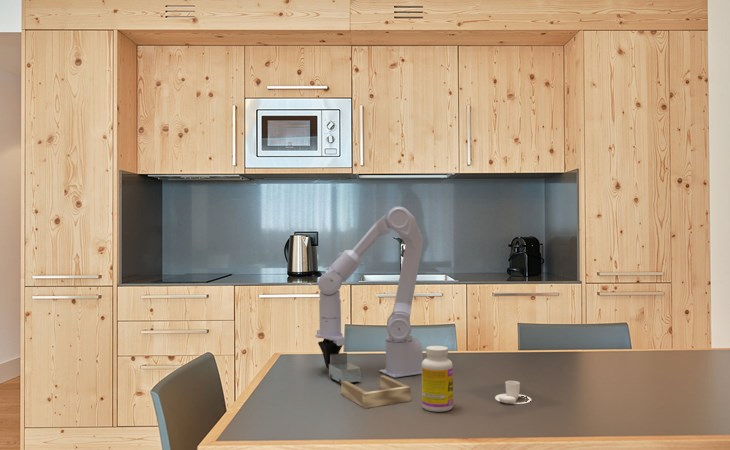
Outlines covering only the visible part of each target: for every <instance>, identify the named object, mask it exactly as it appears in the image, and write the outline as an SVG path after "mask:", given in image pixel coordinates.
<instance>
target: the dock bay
mask: <svg viewBox="0 0 730 450" xmlns="http://www.w3.org/2000/svg"><path fill="white" fill-rule="evenodd" d="M340 385H341V386H340V387H341V391H340V392H341V393H340V394H341V395H342V396H344V397H345V398H347V399H349V400H350V401H352V402H354V403H356V404H357V405H359V406H361V407H362V408H364V409H368V408H375V407H380V406H386V405H387V406H388V405H393V404H400V403H405V402H411V399H412V398H411V393H412V392H411V390H412V389H411V386H409V385H407V384H404V383H403V382H400V381H397V380H396V379H393V378H392V377H390V376H387V375H386V374H384V375H379V389H378V390H373V391H366V390H364V389H363V388H360V387H358V386H357V385H355V384H353V383H352V382H350V383H349V382H347V381H341V384H340Z"/></svg>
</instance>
